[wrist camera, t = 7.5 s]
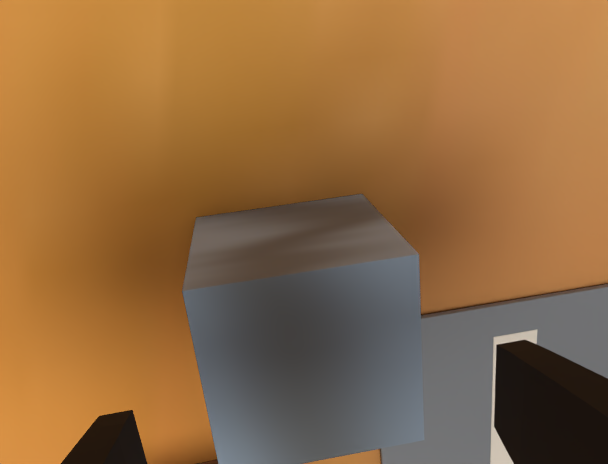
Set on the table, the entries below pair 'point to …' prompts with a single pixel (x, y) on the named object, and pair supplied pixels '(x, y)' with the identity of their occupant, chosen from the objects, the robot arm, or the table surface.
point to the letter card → (493, 368)
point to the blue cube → (306, 331)
